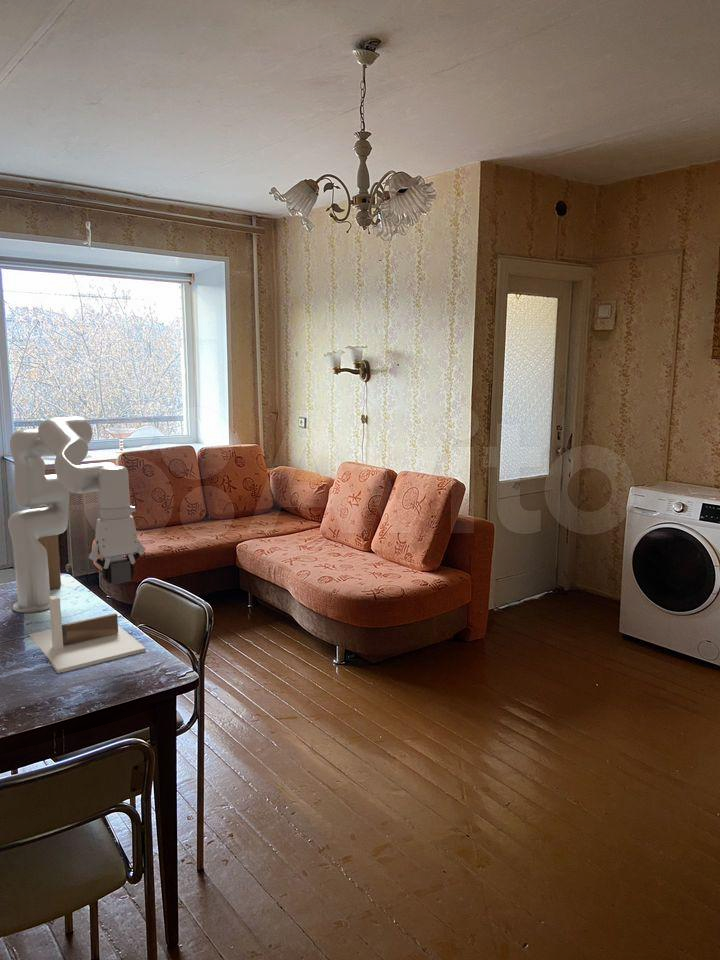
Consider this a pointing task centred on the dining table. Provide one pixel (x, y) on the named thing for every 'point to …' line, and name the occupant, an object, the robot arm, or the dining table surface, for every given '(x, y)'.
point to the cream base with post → (81, 645)
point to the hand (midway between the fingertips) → (118, 579)
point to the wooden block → (52, 560)
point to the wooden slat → (89, 629)
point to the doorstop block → (119, 570)
